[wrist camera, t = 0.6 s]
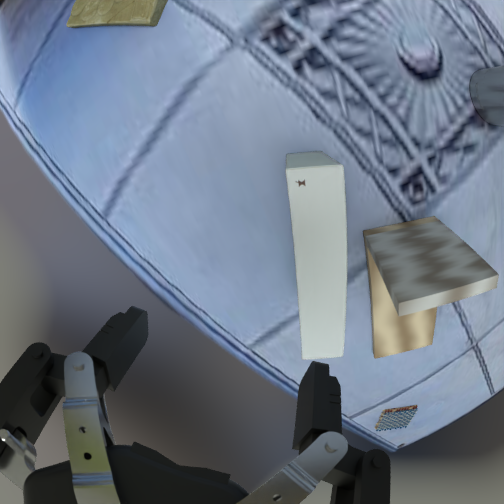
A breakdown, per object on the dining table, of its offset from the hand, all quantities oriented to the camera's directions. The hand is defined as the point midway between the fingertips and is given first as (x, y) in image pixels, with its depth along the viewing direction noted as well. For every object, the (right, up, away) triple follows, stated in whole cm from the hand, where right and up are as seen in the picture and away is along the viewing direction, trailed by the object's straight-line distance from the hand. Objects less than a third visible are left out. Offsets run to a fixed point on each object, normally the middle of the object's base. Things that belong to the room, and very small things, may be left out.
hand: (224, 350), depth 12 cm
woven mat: (+40, -39, +45) cm, 72 cm away
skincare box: (+10, +9, +27) cm, 30 cm away
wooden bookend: (+27, -2, +29) cm, 39 cm away
